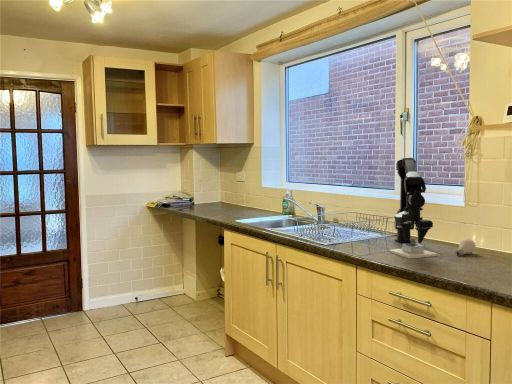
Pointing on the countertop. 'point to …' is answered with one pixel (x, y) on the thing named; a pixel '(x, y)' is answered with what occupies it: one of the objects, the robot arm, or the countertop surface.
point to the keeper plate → (414, 255)
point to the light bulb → (466, 247)
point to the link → (413, 248)
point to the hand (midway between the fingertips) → (412, 241)
